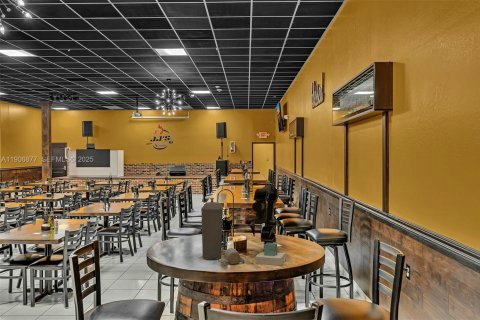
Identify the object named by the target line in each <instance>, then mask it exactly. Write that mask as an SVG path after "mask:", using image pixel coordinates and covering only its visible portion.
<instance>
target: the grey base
mask: <svg viewBox="0 0 480 320" xmlns="http://www.w3.org/2000/svg"><path fill="white" fill-rule="evenodd" d="M286 259H287V253H286V252H278V251H277V255H276V256H264V251H263V250H262V251H260V252H259V253H258V254H257V255H256V256H255V259H254V260H255V262H254V263H255V265H267V266H277V267H278V266H279V267H281V266H282V265H283V264H284V263H285V261H287V260H286Z"/></svg>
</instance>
